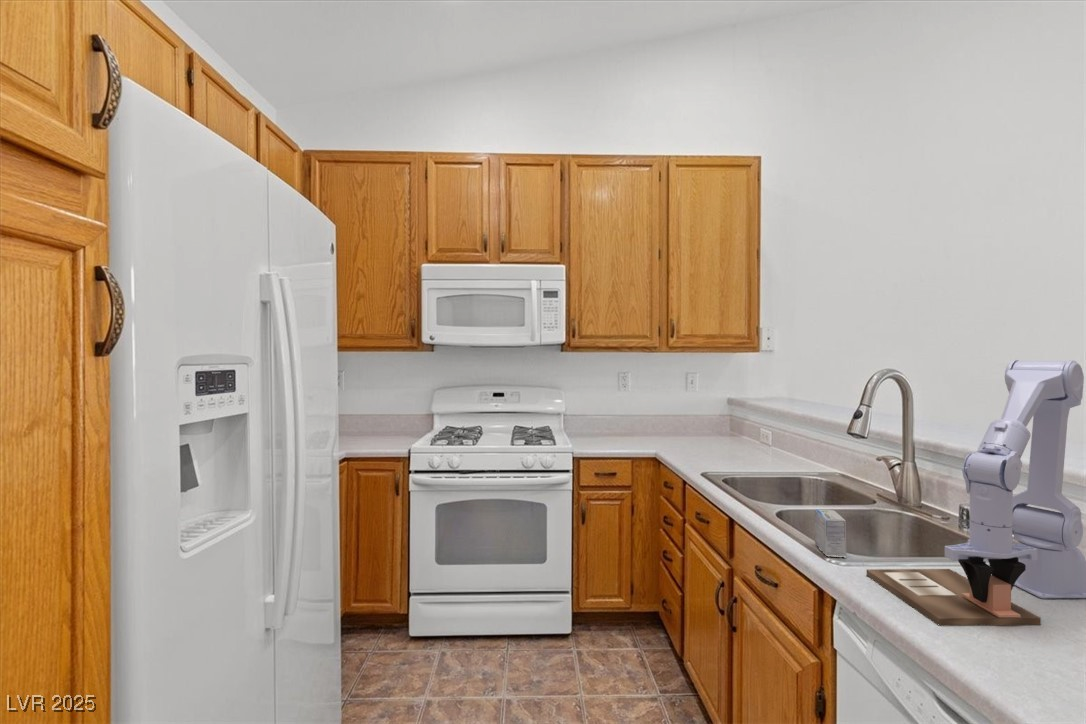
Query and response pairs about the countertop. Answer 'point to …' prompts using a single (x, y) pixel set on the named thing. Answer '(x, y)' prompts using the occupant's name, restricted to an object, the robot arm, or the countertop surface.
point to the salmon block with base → (996, 598)
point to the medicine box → (830, 532)
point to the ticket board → (943, 597)
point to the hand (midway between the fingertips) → (990, 599)
